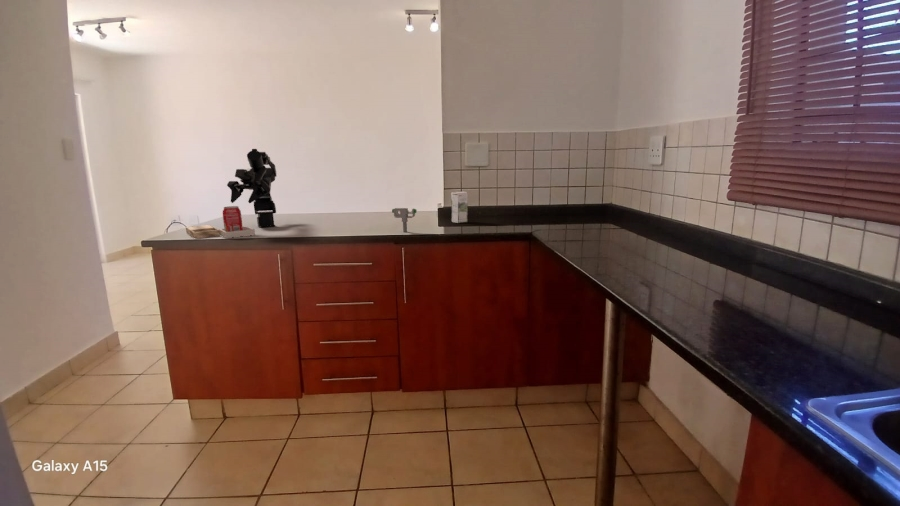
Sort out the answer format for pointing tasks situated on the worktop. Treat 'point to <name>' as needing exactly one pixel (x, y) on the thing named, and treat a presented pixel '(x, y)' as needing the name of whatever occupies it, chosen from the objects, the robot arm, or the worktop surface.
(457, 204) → the syrup box
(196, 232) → the light wood shallow tray
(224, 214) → the soda can
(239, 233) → the frame
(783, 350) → the worktop surface
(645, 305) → the worktop surface
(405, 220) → the mechanical component
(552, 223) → the worktop surface
